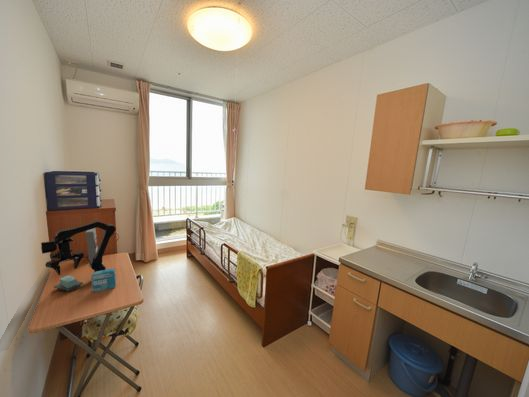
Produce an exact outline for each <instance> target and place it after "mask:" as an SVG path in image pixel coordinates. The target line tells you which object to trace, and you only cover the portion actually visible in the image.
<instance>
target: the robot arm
mask: <svg viewBox="0 0 529 397" xmlns="http://www.w3.org/2000/svg"><path fill="white" fill-rule="evenodd" d="M93 228H95V229H96V228H99V229H101V230H103V231H102V237H101V241H100V243H99V246H97V247H98V250H97V252H96V255H95V256H94V257H93V258H92V257H91V259H90V260H89V261H88V265H89V267H90V268H91V269H92V271H93V272H96V271H101V270H107V269H106V268H107V266H105V264H103V256H104V254H105V251H106V249H107V247H108V244H109V241H110V238H111V237H112V236H113V235H114V233H115V232H116V230H117V228H116V226H115V225H113V224H111V223H108V224H107V223H104V222H101V221H98V220H95V221H93V222H92V221H91V222H89V223H87V224H86V223H85V224H82V225H80V226H76V227H69V228H61V229H59V230H57V231H56V233H55V236H54V237H53V239H52V240H49V241H42V242H40V244H41V247H40V248H41V254H42V255H43V254H47V253H48V254H49V253H50V254H49V258H50V259H51V260H49V261H47V262H46V263H45V264H44V265H45V268H49V269H53V270H54V271H55V272H56V274H57V275H58V276H61V266H60V263H63V262H67V261H70V260H72V261H73V268H74V269H75V270H77V268H78V266H79V264H80V262H81V261H82V259H83V258H84V257H85V253H84V252H82V251H77V252H74V253H72V252H73V249H71V242H74V241H75V240H74V239H73V238H72V237H73V236H75V235H77V234H80V233H83V232H86V231H87V230H90V229H93ZM57 249H58V251H57V252H56V253H55V251H56V250H57ZM52 252H53V253H52Z"/></svg>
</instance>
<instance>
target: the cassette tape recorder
mask: <svg viewBox="0 0 529 397" xmlns="http://www.w3.org/2000/svg"><path fill="white" fill-rule="evenodd" d="M97 238H98V237H97V231H96V228H93V229H90V230H87V231H85V239H86V247H87V248H86V249H87V257H88V259H87V260H88V261H90V259H91V257H92V258H93V257H94V256H95V255H96V252H97V250H98V247H99V246H98V239H97Z"/></svg>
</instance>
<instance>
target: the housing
mask: <svg viewBox="0 0 529 397" xmlns="http://www.w3.org/2000/svg"><path fill="white" fill-rule="evenodd" d="M77 281H78V280H77V278H75V277H73V276H71V275H66V276H63V277H61V278H59V284H61V285H63V286H65V287H67V288H69V287H72V286H74V285H77Z"/></svg>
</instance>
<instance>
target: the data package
mask: <svg viewBox="0 0 529 397" xmlns="http://www.w3.org/2000/svg"><path fill="white" fill-rule="evenodd" d="M90 279H91V288H92V292H94V293H97V292H103V291H106V290H110V289H111V290H112V289H115V287H116V284H117V279H116V271H115V269H114V268H108V269H105V270H101V271H96V272H94V271H93V272H92V274H91V278H90Z"/></svg>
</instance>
